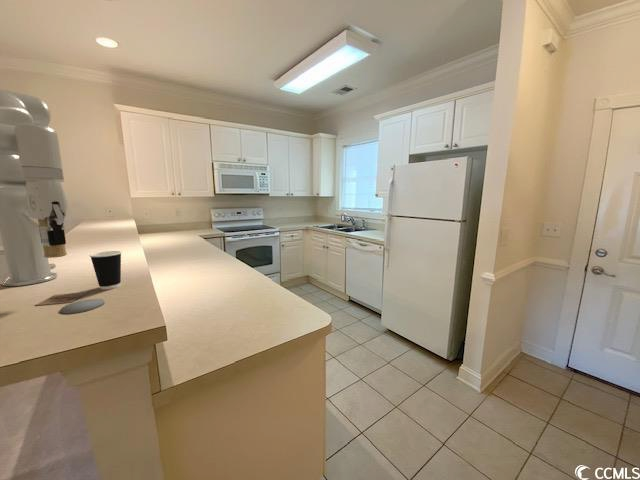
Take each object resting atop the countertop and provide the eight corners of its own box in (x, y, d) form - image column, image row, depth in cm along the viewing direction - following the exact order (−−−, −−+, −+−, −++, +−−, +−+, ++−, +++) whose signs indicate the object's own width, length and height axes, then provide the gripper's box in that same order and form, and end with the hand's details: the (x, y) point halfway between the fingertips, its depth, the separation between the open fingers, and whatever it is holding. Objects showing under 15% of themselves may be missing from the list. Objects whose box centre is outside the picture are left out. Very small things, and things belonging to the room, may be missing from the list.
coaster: (73, 302, 70) (73, 300, 70) (110, 299, 73) (110, 297, 73) (52, 315, 63) (52, 313, 62) (94, 311, 65) (94, 309, 65)
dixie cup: (87, 290, 80) (81, 255, 78) (111, 282, 88) (106, 250, 86) (109, 291, 79) (105, 256, 77) (131, 283, 87) (128, 251, 85)
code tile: (55, 295, 76) (55, 294, 76) (88, 292, 78) (88, 291, 78) (35, 306, 68) (34, 305, 68) (72, 302, 71) (72, 301, 71)
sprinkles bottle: (71, 255, 73) (64, 207, 71) (51, 258, 69) (43, 207, 67) (59, 253, 75) (52, 206, 72) (39, 257, 70) (31, 207, 68)
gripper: (10, 174, 69) (22, 242, 72) (35, 173, 61) (47, 249, 64) (49, 176, 75) (58, 239, 78) (76, 176, 68) (85, 245, 71)
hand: (53, 243), depth 71 cm, fingers closed on sprinkles bottle, 4 cm apart
